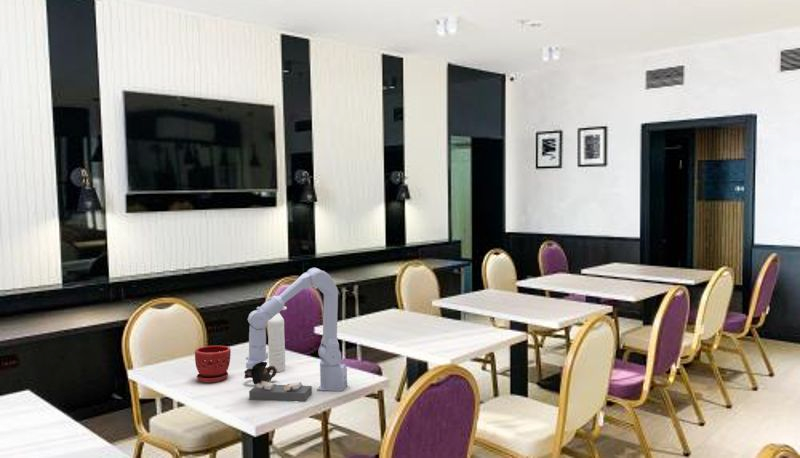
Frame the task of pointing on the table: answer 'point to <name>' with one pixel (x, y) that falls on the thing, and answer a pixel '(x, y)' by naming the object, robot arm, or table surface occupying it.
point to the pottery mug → (266, 375)
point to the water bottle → (276, 342)
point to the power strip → (281, 393)
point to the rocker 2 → (292, 386)
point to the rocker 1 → (265, 385)
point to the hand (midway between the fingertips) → (257, 383)
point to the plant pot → (212, 363)
